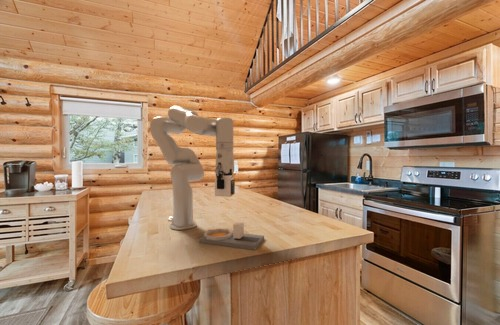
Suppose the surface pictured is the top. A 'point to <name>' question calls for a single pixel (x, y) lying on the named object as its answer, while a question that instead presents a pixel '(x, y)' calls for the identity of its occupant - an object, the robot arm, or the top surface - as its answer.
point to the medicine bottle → (226, 186)
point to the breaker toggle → (238, 230)
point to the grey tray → (231, 239)
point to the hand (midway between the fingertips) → (224, 187)
